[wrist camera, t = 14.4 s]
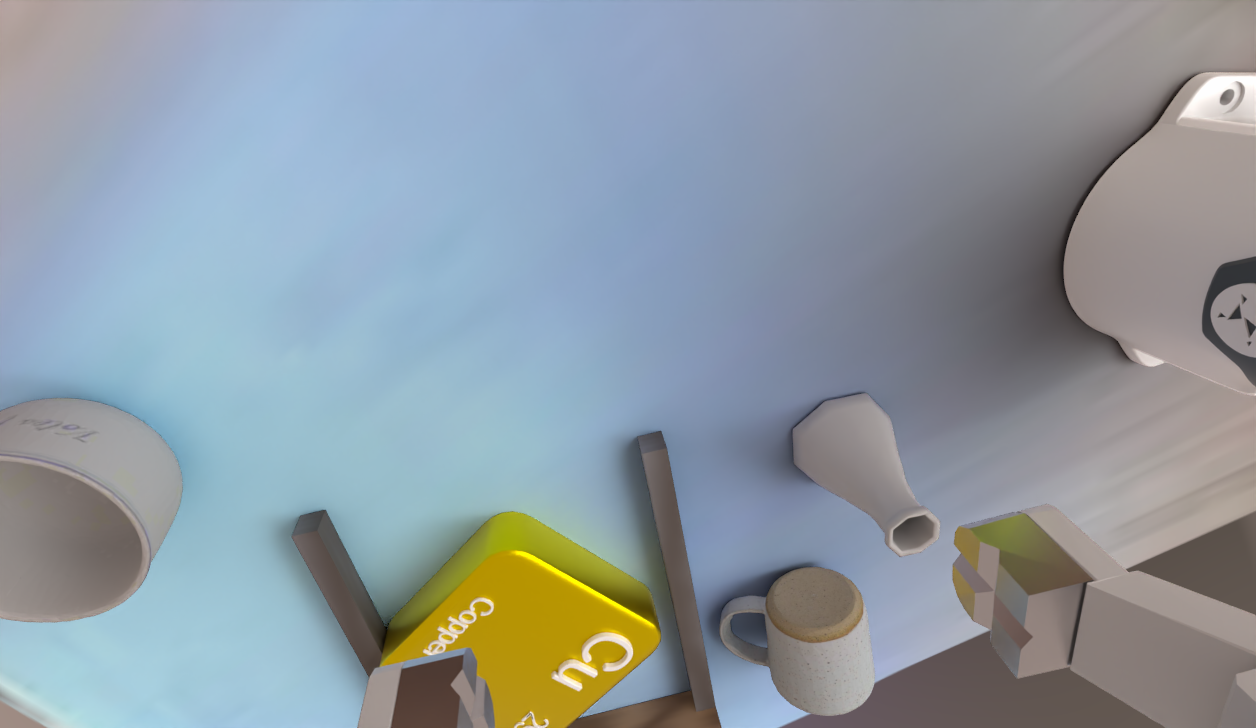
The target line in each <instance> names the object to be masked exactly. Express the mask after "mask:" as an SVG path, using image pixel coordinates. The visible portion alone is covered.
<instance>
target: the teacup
mask: <svg viewBox="0 0 1256 728" xmlns="http://www.w3.org/2000/svg"><path fill="white" fill-rule="evenodd" d="M182 489H183V485H182V474H181V470H180V466H179V464H178V461H177V459H176V457H175V455H174V453H173V451H172V450H171V448H170V447H169V445H168V444H167V443H166V442H165V440H164V439H163V438H162V437H161V436H160V435H159V434H158V433H157V432H156V431H155V430H154V429H152V428H151V427H150V426H148V425H147V424H146V423H144V422H143V421H141V420H139V419H138V418H136V417H135V416H133V415H131V414H129V413H127V412H124V411H122V410H120V409H117V408H115V407H112V406H109V405H106V404H103V403H99V402H94V401H89V400H83V399H73V398H49V399H40V400H33V401H29V402H25V403H21V404H18V405H15V406H12V407H9V408H7V409H4V410H2V411H0V618H2V619H7V620H15V621H23V622H62V621H72V620H78V619H82V618H85V617H91V616H95V615H98V614H101V613H103V612H106V611H108V610H110V609H112V608H114V607H116V606H118V605H120V604H121V603H123V602H124V601H125V600H127V599H128V598H129V597H130V596H131V595H132V594H133V593H135V592H136V590H137V589H138V588H139V587H140V586H141V584H142V583H143V581H144V579H145V578H146V576H147V573H148V571H149V568H150V564H151V561H152V560H153V558H154V556H155V555H156V553H157V551H158V549H159V548H160V546H161V544H162V542H163V540H164V539H165V537H166V535H167V533H168V531H169V529H170V527H171V525H172V523H173V521H174V518H175V516H176V514H177V511H178V508H179V505H180V502H181V496H182Z"/></svg>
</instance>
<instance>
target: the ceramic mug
mask: <svg viewBox="0 0 1256 728" xmlns="http://www.w3.org/2000/svg"><path fill="white" fill-rule="evenodd" d="M747 612H753V613H763V614H764V615H765V625H766V632H767V644H768V648H764V647H760V646H756V645H753V644H750V643H748V642H745V641H743V640H742V639H740V638H738V637H737V636H736V635H734V634H733V632H732V630H731V624H730V621H731V619H732V618H733V615H735V614H738V613H747ZM719 634H720V637H721V640H722V642H723V644H724V645H725V646H726V647H727V648H728V649H729V650H730V651H731V652H732V653H734V654H735V655H737V656H739V657H740V658H742V659H744V660H747V661H750V662H752V663H755V664H759V665H763V666H768V667H769V668H770V672H771V677H772V680H773V683H774V684H775V686H776V688H777V690H778V692H779V693H780V694H781V695H782V696H783V697H784V698H785V699H786V700H787V701H788V702H789V703H790V704H792V705H793V706H795V707H797V708H799V709H801V710H803V711H805V712H808V713H812V714H817V715H821V716H835V715H841V714H845V713H848V712H850V711H852V710H854V709H856V708H857V707H859V706H861V705H862V704H863V703H864V702H865V701H866V700H867V698H868V697H869V695H870V694H871V692H872V689H873V686H874V680H875V671H874V664H873V657H872V648H871V640H870V634H869V624H868V616H867V610H866V607H865V604H864V601H863V598H862V595H861V593H860V592H859V590H858V589H857V587H856V586H855V585H854V583H853V582H852V581H851V580H849V579H848V578H846V577H845V576H844V575H842V574H840V573H838V572H836V571H833V570H830V569H825V568H821V567H805V568H800V569H796V570H792V571H790V572H788V573H786V574H785V575H783V576H781V577H780V578H778V579H777V580H776V581H775V582H774V583H773V585H772V586H771V588H770V589H769V592H768V594H767V596H766V597H760V596H752V595H750V596H745V597H740V598H739V597H738V598H735V599H733V600H731V601H730V602H728V603H727V604H726V605H725V607H724V608H723V610H722V613H721V619H720V625H719Z"/></svg>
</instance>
